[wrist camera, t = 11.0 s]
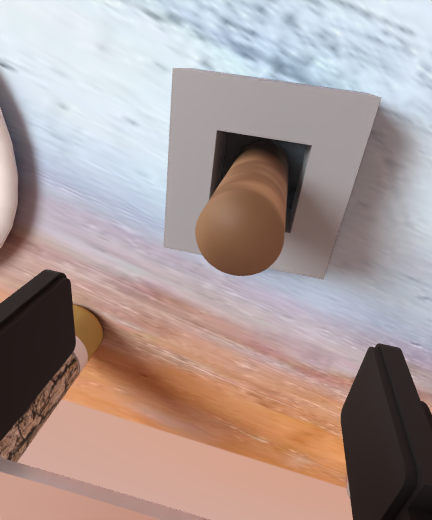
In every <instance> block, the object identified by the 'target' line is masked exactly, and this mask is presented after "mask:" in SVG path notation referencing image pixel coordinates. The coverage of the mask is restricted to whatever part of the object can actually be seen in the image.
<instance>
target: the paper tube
mask: <svg viewBox="0 0 432 520" xmlns="http://www.w3.org/2000/svg"><path fill="white" fill-rule="evenodd" d="M73 314H74V325H75V336H76V346H75V349H74V351H73V353H72V354H71V356H70V357H69V358H68V359H67V361H66V362H65V363H64V364H63V366H62V367H61V368H60V369H59V370H58V372H57V373H56V374H55V375H54V377H53V378H52V379H51V380H50V382H49V383H48V384H47V385H46V386H45V388H44V389H43V390H42V391H41V393H40V394H39V395H38V396H37V398H36V399H35V400H34V401H33V402H32V404H31V405H30V406H29V407H28V409H27V410H26V411H25V412H24V414H23V415H22V416H21V417H20V418H19V420H18V421H17V422H16V423H15V425H14V426H13V427H12V428H11V430H10V431H9V432H8V433H7V435H6V436H5V437H4V438H3V439H2V440H1V441H0V458H3V459H7V460H10V461H14V462H17V461H18V460H19V459H20V457H21V456H22V454H23V453H24V451H25V450H26V448H27V447H28V446H29V444H30V443H31V442H32V440H33V439H34V437H35V436H36V434H37V433H38V432H39V430H40V429H41V427H42V426H43V424H44V423H45V422H46V420H47V419H48V418H49V416H50V415H51V413H52V412H53V410H54V409H55V407H56V406H57V405H58V404H59V402H60V401H61V399H62V398H63V396H64V395H65V394H66V392H67V391H68V389H69V388H70V387H71V385H72V384H73V382H74V381H75V380H76V378H77V377H78V375H79V374H80V372H81V371H82V370H83V368H84V367H85V365H86V364H87V362H88V361H89V359H90V358H91V357H92V355H93V354H94V352H95V351H96V350H97V348H98V347H99V345H100V344H101V342H102V339H103V330H102V327H101V324H100V322H99V321H98V319H97V318H96V317H95V316H94V315H93V314H92V313H91V312H90V311H88V310H87V309H85V308H83V307H80V306H77V305H73Z"/></svg>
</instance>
